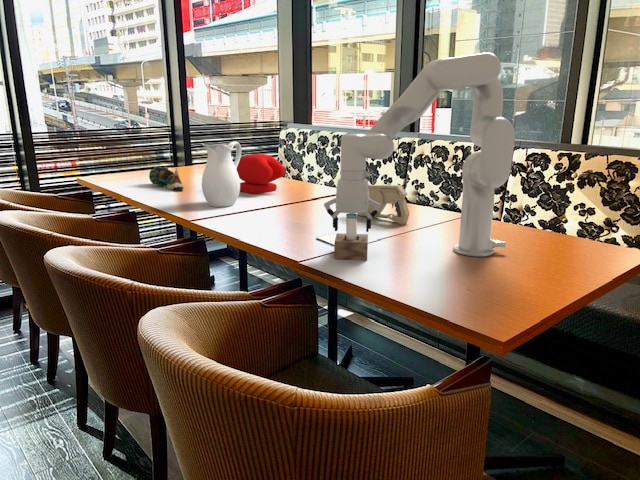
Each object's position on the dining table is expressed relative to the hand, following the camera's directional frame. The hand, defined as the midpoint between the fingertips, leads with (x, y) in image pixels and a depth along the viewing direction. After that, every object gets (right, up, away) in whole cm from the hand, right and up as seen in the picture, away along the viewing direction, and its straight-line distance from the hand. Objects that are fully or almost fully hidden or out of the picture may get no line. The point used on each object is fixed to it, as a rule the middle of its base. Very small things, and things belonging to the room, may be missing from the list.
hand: (351, 230), depth 160 cm
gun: (+15, +5, +48) cm, 51 cm away
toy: (-41, +22, +107) cm, 117 cm away
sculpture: (-91, +25, +116) cm, 149 cm away
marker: (0, -7, +2) cm, 7 cm away
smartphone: (-4, -4, +16) cm, 17 cm away
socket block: (0, -8, +2) cm, 8 cm away
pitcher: (-53, +14, +78) cm, 95 cm away
